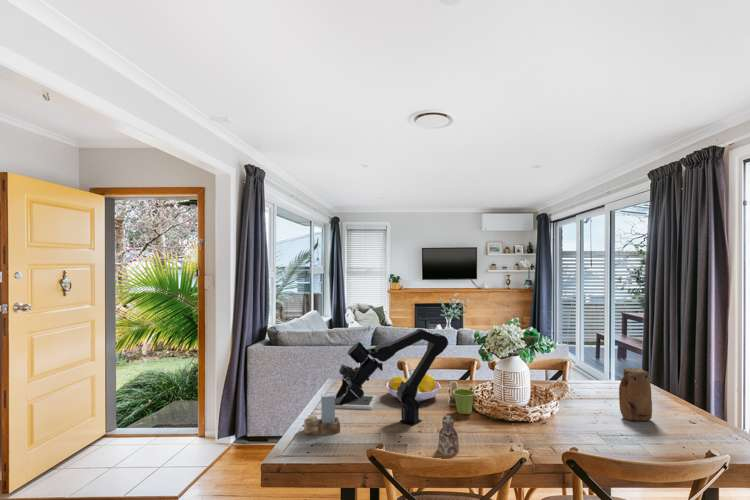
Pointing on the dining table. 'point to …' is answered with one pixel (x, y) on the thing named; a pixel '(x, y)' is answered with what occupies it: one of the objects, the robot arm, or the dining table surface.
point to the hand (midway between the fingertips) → (337, 401)
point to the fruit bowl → (425, 388)
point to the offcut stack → (311, 424)
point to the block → (635, 395)
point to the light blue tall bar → (327, 408)
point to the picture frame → (357, 402)
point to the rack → (326, 428)
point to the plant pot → (464, 400)
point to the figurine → (448, 437)
